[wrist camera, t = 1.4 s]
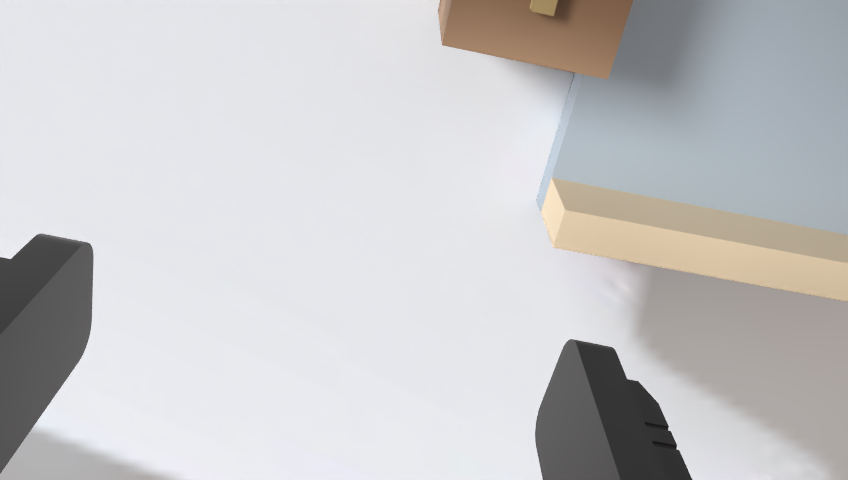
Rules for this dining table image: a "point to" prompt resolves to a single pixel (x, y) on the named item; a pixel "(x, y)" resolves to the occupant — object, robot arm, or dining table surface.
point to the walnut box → (539, 31)
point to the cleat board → (713, 145)
